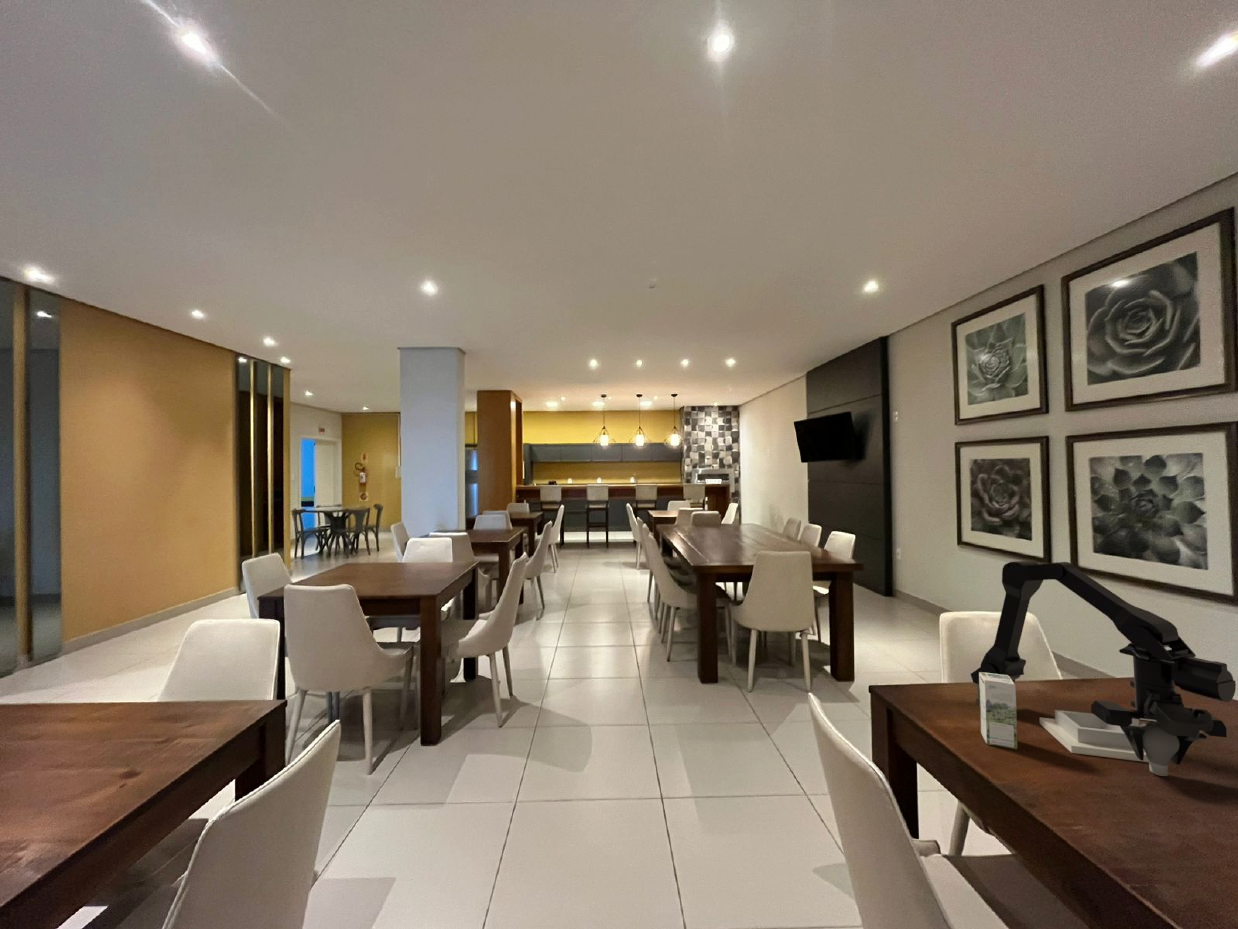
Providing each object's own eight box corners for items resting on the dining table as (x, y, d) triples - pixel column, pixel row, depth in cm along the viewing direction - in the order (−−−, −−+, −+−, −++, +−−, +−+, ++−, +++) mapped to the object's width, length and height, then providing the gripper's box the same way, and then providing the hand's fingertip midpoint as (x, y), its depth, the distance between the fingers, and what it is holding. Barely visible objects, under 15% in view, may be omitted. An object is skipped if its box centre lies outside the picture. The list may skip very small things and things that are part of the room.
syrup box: (1010, 738, 116) (1008, 674, 116) (1018, 751, 110) (1015, 683, 111) (980, 733, 118) (978, 670, 119) (986, 745, 113) (984, 679, 113)
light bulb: (1160, 767, 104) (1158, 717, 104) (1190, 784, 98) (1188, 731, 98) (1128, 765, 104) (1126, 716, 105) (1156, 782, 98) (1154, 730, 99)
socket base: (1071, 752, 109) (1070, 731, 110) (1039, 723, 123) (1039, 704, 123) (1153, 763, 105) (1152, 741, 105) (1111, 731, 119) (1110, 712, 119)
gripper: (1122, 692, 97) (1126, 776, 96) (1251, 704, 91) (1256, 793, 91) (1088, 672, 108) (1091, 747, 107) (1202, 681, 102) (1206, 761, 101)
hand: (1158, 761), depth 101 cm, fingers closed on light bulb, 5 cm apart
